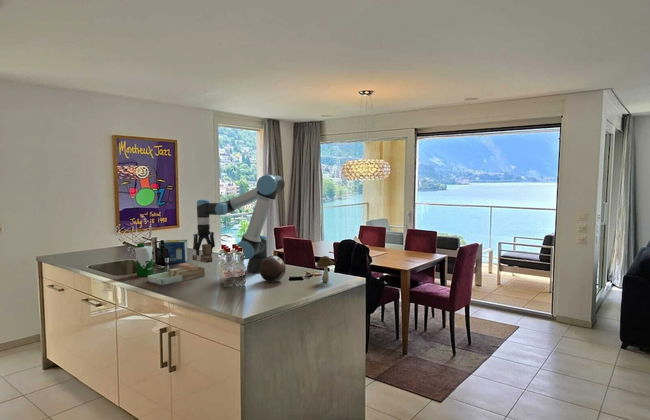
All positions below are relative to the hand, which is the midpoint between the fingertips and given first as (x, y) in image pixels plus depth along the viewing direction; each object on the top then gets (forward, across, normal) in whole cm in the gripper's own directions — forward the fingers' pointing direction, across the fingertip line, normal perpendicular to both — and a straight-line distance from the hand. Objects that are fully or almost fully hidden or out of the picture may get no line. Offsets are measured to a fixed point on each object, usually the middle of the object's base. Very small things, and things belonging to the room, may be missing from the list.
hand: (204, 259), depth 267 cm
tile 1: (+4, +12, +6) cm, 14 cm away
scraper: (+1, 0, 0) cm, 1 cm away
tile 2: (+4, +12, 0) cm, 12 cm away
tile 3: (+4, +12, -5) cm, 13 cm away
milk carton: (+9, +27, -25) cm, 38 cm away
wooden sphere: (+8, -10, +53) cm, 54 cm away
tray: (+9, +27, 0) cm, 29 cm away
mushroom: (+8, -28, +78) cm, 83 cm away
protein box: (+9, -8, -49) cm, 51 cm away
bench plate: (+9, +13, 0) cm, 16 cm away
